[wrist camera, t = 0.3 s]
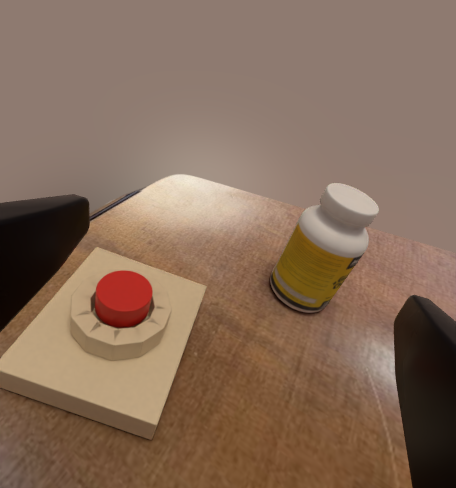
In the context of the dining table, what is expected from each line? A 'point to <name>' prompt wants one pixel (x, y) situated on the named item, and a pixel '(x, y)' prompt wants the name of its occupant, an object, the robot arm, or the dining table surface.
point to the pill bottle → (323, 248)
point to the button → (123, 298)
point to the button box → (105, 348)
